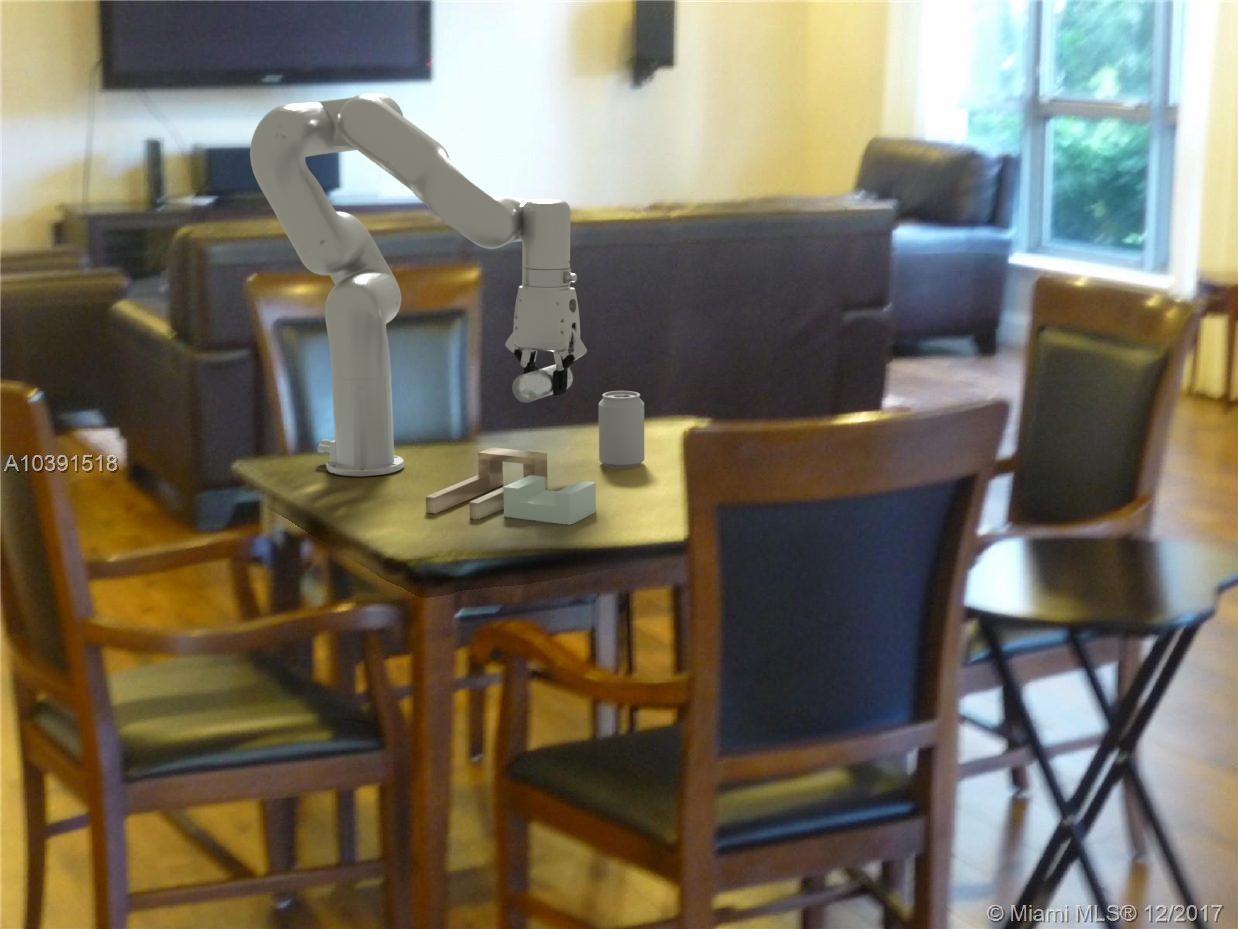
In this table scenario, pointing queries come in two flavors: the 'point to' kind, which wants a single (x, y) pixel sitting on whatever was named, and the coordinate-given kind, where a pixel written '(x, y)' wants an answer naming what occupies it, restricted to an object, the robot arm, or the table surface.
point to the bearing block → (487, 482)
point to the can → (621, 430)
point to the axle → (536, 384)
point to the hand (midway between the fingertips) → (545, 391)
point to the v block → (549, 501)
